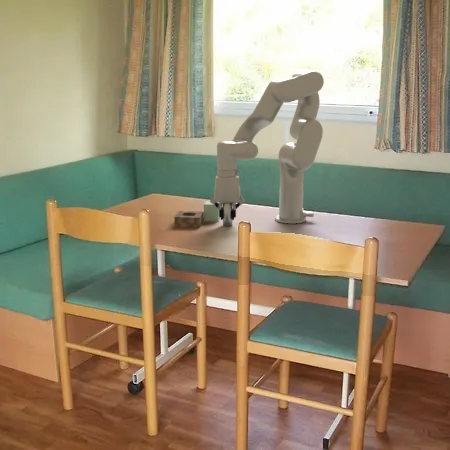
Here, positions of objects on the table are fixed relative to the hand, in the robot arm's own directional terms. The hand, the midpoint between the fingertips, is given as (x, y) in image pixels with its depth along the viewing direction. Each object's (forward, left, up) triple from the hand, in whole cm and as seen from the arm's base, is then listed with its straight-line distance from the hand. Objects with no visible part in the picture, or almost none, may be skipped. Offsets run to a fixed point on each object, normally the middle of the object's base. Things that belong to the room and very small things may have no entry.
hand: (227, 218), depth 251 cm
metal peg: (0, 0, -2) cm, 2 cm away
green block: (+7, -9, -3) cm, 12 cm away
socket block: (+15, 0, -3) cm, 16 cm away
